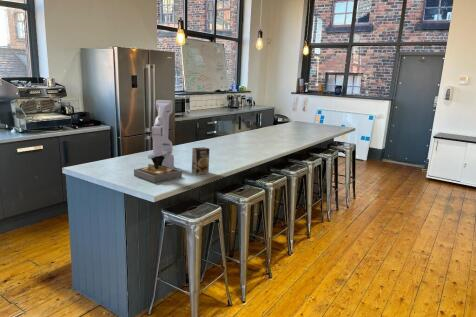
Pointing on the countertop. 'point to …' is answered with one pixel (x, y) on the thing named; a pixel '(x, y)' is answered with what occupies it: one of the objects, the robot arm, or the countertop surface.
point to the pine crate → (156, 170)
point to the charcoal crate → (158, 178)
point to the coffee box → (200, 161)
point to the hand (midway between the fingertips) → (157, 168)
